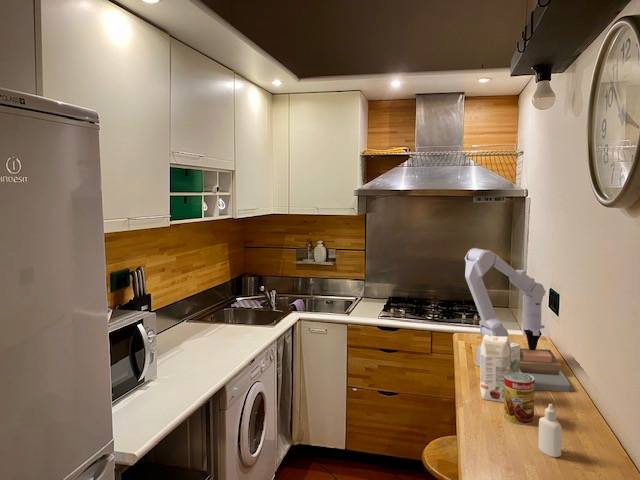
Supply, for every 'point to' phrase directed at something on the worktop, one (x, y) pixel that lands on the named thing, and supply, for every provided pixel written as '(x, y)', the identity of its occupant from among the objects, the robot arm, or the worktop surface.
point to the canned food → (519, 398)
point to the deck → (540, 365)
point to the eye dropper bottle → (550, 433)
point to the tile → (536, 356)
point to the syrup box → (515, 357)
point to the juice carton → (494, 366)
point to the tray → (551, 382)
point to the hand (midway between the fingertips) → (532, 349)
